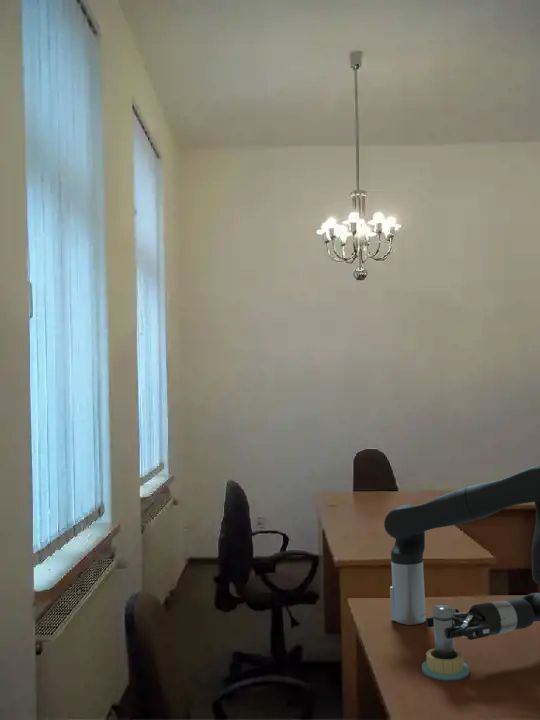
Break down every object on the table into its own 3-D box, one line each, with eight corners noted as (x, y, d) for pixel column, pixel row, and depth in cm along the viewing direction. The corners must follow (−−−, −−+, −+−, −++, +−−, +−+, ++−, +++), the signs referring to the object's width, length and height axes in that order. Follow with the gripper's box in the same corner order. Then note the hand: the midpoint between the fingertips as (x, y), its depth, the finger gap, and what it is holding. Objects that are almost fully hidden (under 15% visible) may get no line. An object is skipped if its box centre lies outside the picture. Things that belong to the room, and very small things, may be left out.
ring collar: (414, 674, 168) (414, 657, 168) (432, 658, 177) (431, 642, 177) (459, 684, 162) (458, 666, 162) (475, 667, 171) (474, 650, 171)
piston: (432, 668, 169) (429, 609, 169) (439, 661, 173) (437, 603, 173) (451, 672, 166) (448, 612, 167) (458, 664, 170) (455, 606, 170)
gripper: (475, 595, 181) (420, 603, 176) (510, 611, 168) (452, 621, 162) (476, 624, 181) (421, 634, 176) (512, 643, 167) (453, 654, 162)
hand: (436, 628), depth 169 cm, fingers open, 8 cm apart
